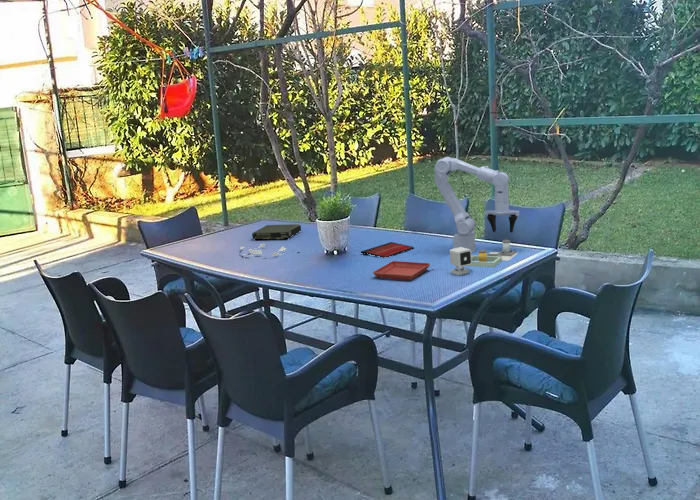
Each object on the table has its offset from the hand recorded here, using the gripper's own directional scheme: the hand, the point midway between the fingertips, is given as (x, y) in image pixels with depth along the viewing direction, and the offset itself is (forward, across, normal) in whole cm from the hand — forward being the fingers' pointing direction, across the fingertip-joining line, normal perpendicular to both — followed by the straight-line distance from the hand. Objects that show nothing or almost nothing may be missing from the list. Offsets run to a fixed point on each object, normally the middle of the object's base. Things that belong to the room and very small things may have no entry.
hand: (502, 231), depth 302 cm
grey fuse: (+9, +3, -5) cm, 10 cm away
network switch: (+11, -134, +16) cm, 135 cm away
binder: (+11, -54, -5) cm, 55 cm away
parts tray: (+10, -2, -21) cm, 23 cm away
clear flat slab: (+11, -117, -18) cm, 119 cm away
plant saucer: (+10, -30, -40) cm, 51 cm away
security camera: (+10, -7, -33) cm, 35 cm away
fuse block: (+10, +1, -8) cm, 13 cm away
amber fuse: (+9, -2, -21) cm, 23 cm away
